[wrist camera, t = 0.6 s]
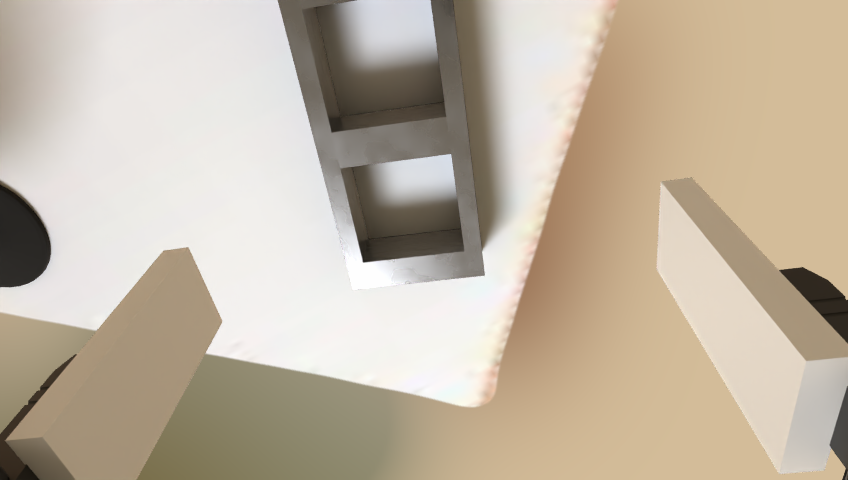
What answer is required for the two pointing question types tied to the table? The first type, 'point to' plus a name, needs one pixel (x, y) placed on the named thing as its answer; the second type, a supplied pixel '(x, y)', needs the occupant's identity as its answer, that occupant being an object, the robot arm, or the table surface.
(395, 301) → the table surface
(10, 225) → the wine glass
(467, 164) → the rectangular frame
